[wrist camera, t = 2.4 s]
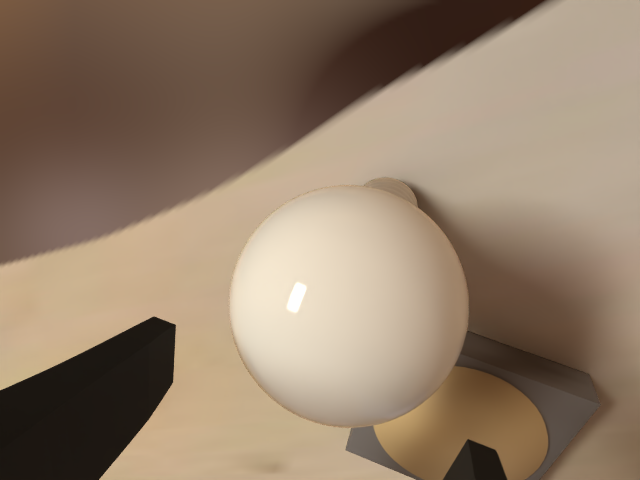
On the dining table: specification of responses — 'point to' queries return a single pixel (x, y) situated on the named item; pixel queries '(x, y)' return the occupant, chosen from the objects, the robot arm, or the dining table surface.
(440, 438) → the charcoal base
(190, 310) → the dining table surface
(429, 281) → the lightbulb
